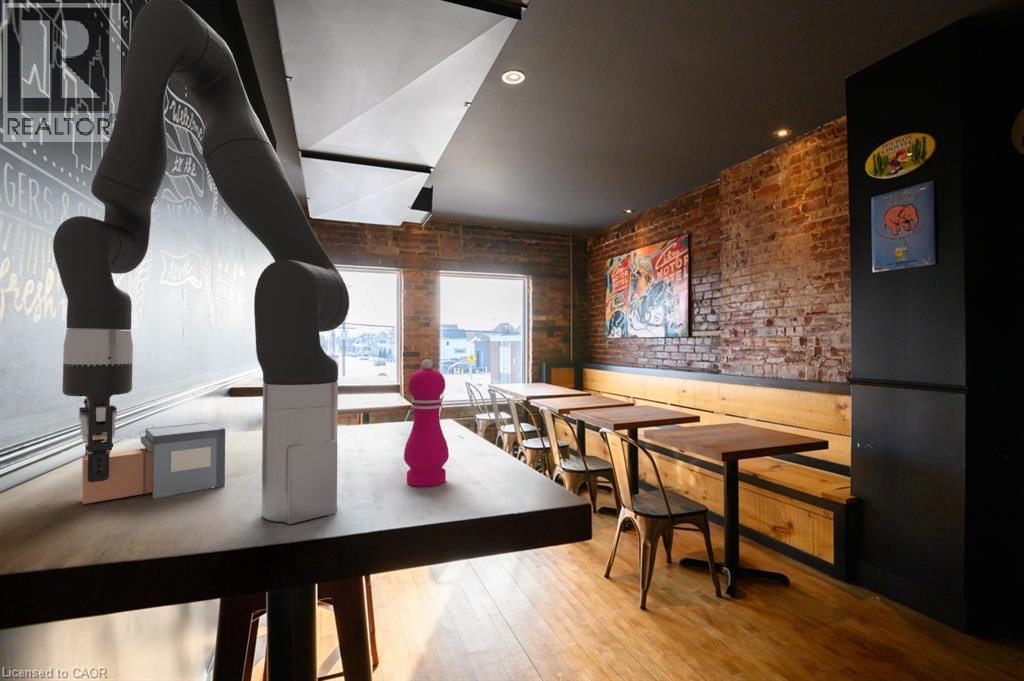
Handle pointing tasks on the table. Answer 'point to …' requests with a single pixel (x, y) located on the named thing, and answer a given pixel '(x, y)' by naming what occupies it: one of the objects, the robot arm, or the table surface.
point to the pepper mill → (426, 429)
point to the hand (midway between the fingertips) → (96, 474)
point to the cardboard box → (120, 476)
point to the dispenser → (186, 457)
